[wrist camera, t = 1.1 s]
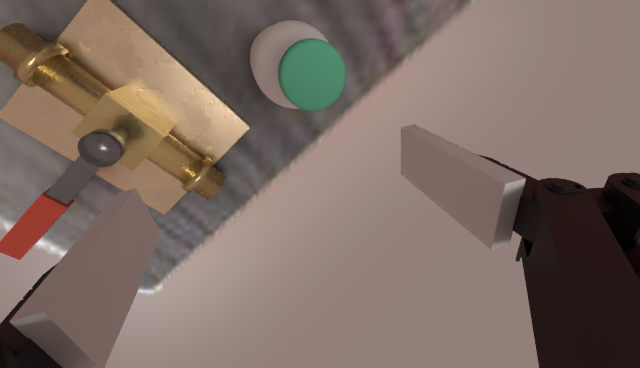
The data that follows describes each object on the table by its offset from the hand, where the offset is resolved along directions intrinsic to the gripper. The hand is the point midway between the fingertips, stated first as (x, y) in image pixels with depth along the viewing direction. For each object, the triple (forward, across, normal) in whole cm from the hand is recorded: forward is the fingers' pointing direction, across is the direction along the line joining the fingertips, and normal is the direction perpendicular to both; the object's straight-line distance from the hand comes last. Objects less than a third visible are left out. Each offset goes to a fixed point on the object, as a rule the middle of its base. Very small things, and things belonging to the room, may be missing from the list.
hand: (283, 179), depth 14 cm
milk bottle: (+27, +4, +4) cm, 27 cm away
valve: (+26, -15, 0) cm, 30 cm away
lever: (+17, -21, -4) cm, 27 cm away
